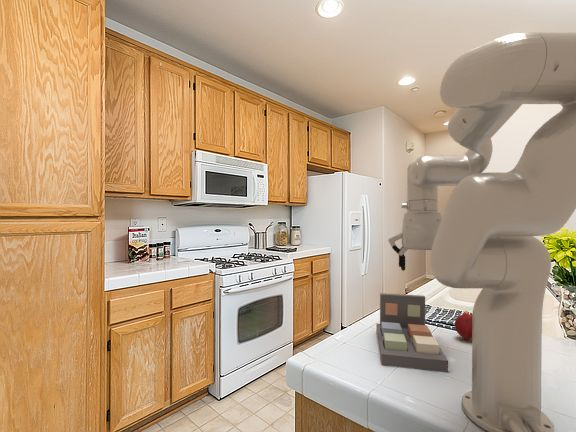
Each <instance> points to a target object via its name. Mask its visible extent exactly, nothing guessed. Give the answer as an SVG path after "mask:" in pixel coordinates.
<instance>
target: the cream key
mask: <svg viewBox="0 0 576 432" xmlns="http://www.w3.org/2000/svg"><path fill="white" fill-rule="evenodd" d="M413 346H414V348H415V351H416V352H419V353H429V354H439V347H440V344H439V343H438V341H437V340H436V338H435V337H434V336H433V337H428V336H416V335H413Z"/></svg>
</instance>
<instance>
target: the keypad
mask: <svg viewBox="0 0 576 432" xmlns="http://www.w3.org/2000/svg"><path fill="white" fill-rule="evenodd" d="M381 322H391V323H400V326H401V328H402V334H404V336H405V339H406V341H407V351H398V350H388V349H385V346H384V336H382V331H381ZM375 324H376V328H375V329H376V331H375V332H376V339H377V344H378V351H379V357H380V364H381V366H386V367H387V366H390V367H397V368H407V369H415V370H417V369H418V370H424V371H425V370H426V371H434V372H443V373H449V359H448V358H447V357H446V355H445V353H444V351H443V350H442V348H441V346H439V354H429V353H419V352H416V351H415V348H414V346H413V339H410V337H409V334H408V324H416V325H426V296H425V295H418V294H402V293H401V294H399V293H385V292H380V293H379V323H377V322H376V323H375ZM431 337H434V335H433V334H432V333H431Z"/></svg>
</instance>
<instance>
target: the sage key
mask: <svg viewBox="0 0 576 432" xmlns="http://www.w3.org/2000/svg"><path fill="white" fill-rule="evenodd" d="M384 346H385V349H388V350H398V351H407V341H406V339H405V336H404V334H394V333H384Z"/></svg>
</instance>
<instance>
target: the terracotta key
mask: <svg viewBox="0 0 576 432" xmlns="http://www.w3.org/2000/svg"><path fill="white" fill-rule="evenodd" d="M408 334H409V337H410V339H413V335H416V336H428V337H431V334H432V331H431V329H430V328H429V326H428V325H426V324H425V325H416V324H408Z"/></svg>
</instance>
